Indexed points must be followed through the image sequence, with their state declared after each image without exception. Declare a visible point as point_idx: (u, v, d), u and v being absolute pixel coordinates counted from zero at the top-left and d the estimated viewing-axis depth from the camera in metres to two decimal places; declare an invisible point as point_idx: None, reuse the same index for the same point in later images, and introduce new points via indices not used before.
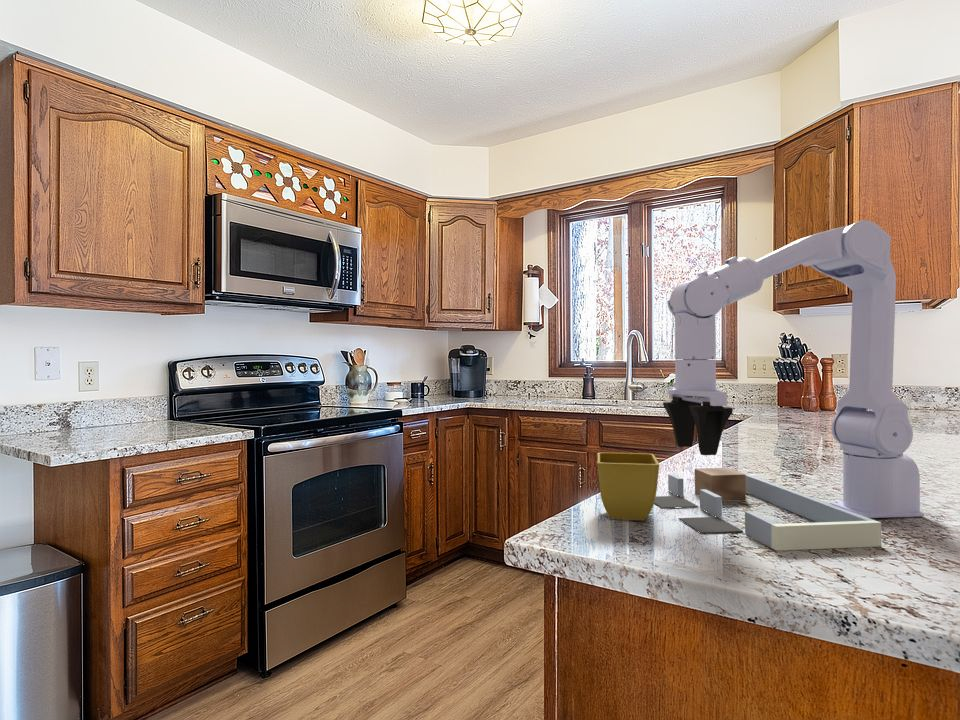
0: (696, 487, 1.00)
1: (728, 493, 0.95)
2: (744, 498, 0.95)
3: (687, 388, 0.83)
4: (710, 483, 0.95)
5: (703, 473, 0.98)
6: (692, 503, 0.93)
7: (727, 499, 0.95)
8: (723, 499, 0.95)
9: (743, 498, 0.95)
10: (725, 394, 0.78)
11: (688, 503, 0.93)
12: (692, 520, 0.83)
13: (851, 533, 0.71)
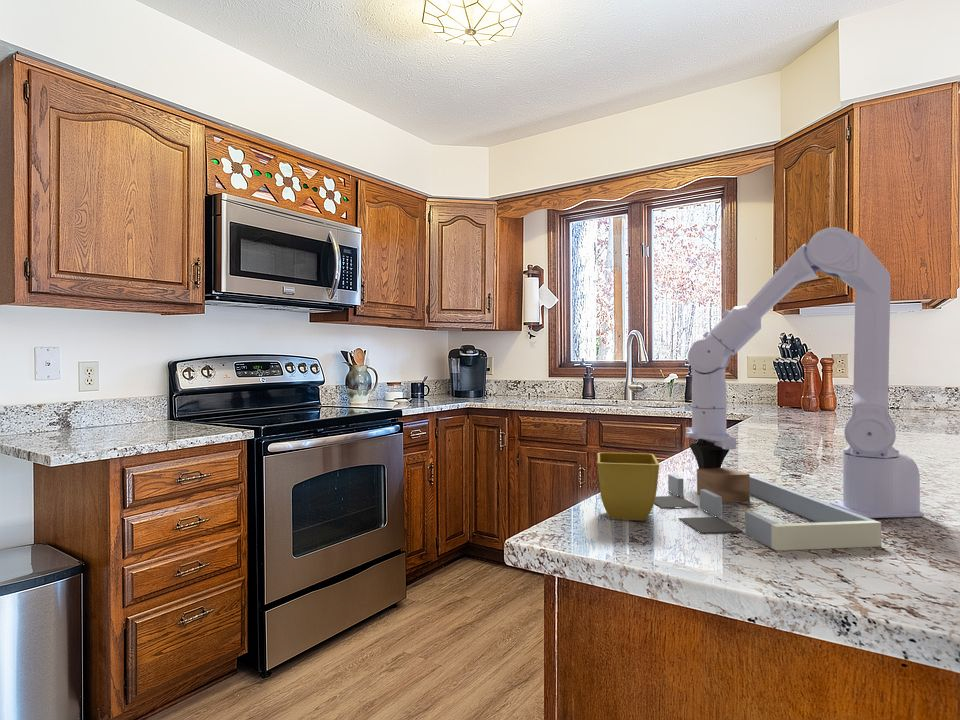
0: (699, 487, 0.99)
1: (733, 493, 0.94)
2: (748, 498, 0.95)
3: (703, 432, 0.99)
4: (715, 483, 0.94)
5: (707, 473, 0.96)
6: (692, 503, 0.93)
7: (731, 499, 0.94)
8: (728, 499, 0.94)
9: (747, 498, 0.95)
10: (734, 439, 0.94)
11: (688, 503, 0.93)
12: (692, 520, 0.83)
13: (851, 533, 0.71)
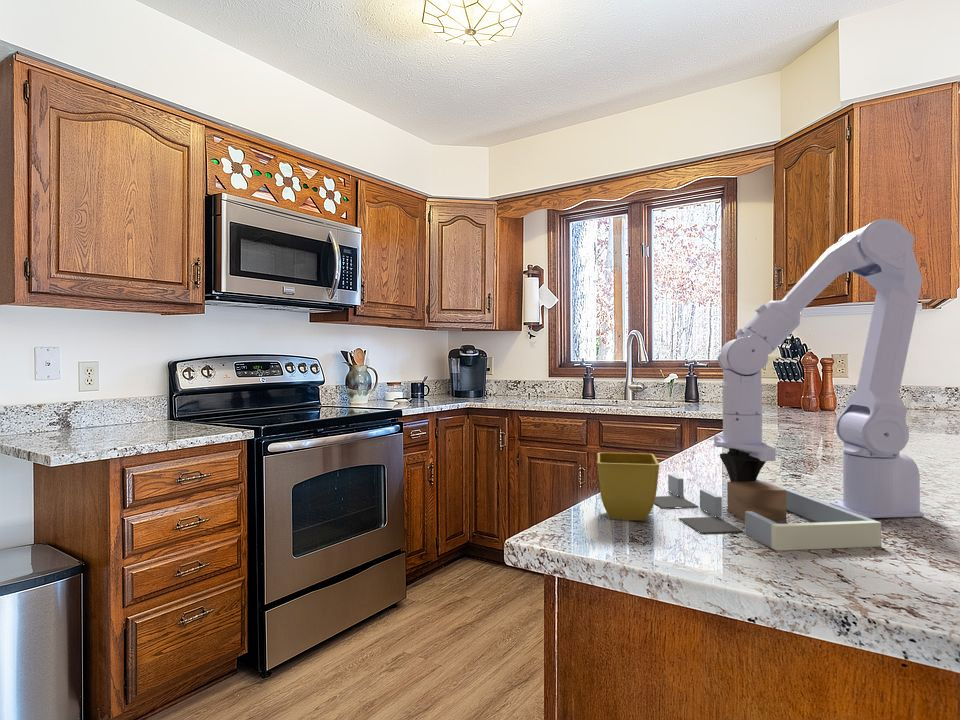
0: (729, 503, 0.89)
1: (766, 511, 0.83)
2: (784, 517, 0.83)
3: (736, 441, 0.89)
4: (744, 499, 0.84)
5: (736, 487, 0.86)
6: (692, 503, 0.93)
7: None
8: None
9: (783, 517, 0.83)
10: (774, 450, 0.84)
11: (688, 503, 0.93)
12: (692, 520, 0.83)
13: (851, 533, 0.71)
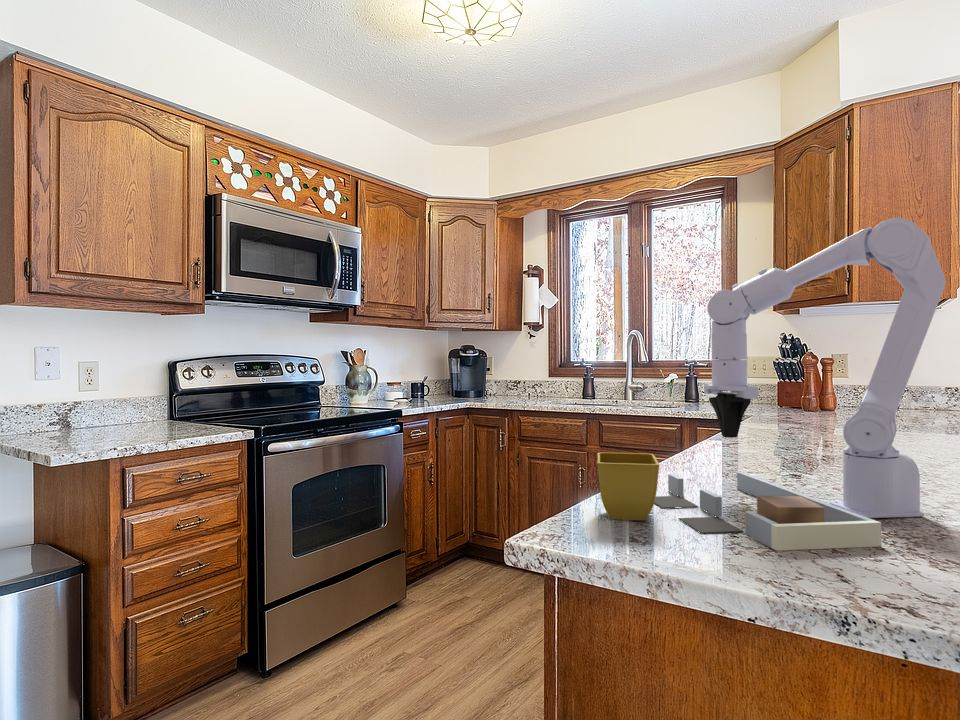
0: None
1: None
2: None
3: (723, 384, 0.98)
4: (776, 517, 0.75)
5: (767, 503, 0.77)
6: (692, 503, 0.93)
7: None
8: None
9: None
10: (757, 389, 0.93)
11: (688, 503, 0.93)
12: (692, 520, 0.83)
13: (851, 533, 0.71)
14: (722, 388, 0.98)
